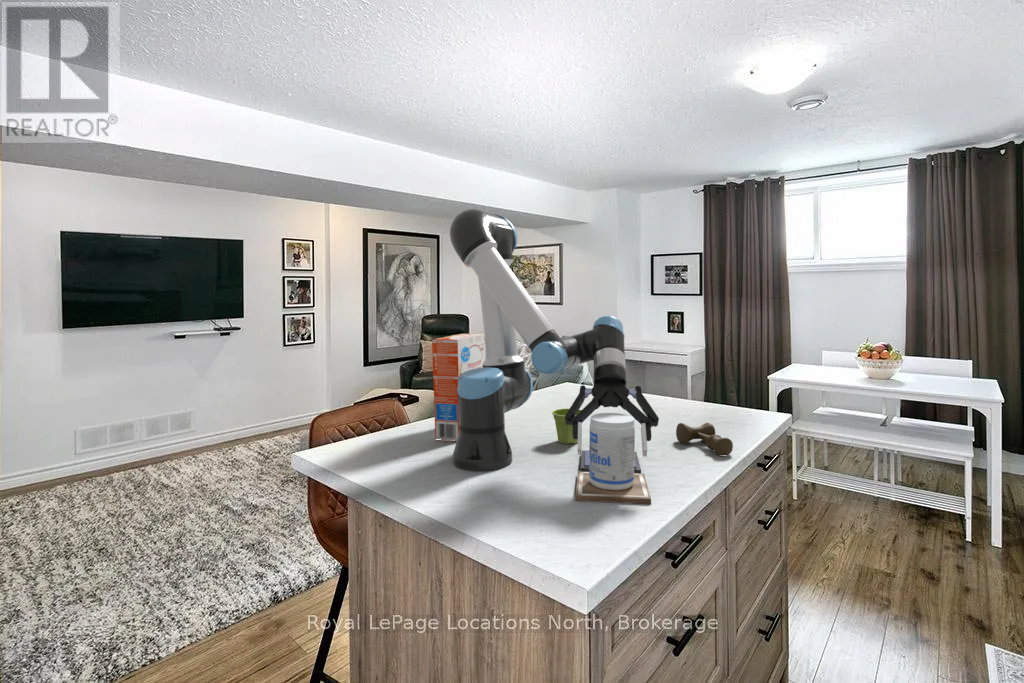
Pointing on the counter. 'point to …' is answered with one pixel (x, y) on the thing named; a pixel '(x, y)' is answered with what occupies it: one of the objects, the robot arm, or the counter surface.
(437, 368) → the orange cereal box
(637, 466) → the ink pad
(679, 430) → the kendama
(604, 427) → the supplement tub
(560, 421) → the plant pot
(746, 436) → the counter surface
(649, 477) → the counter surface
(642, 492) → the board
